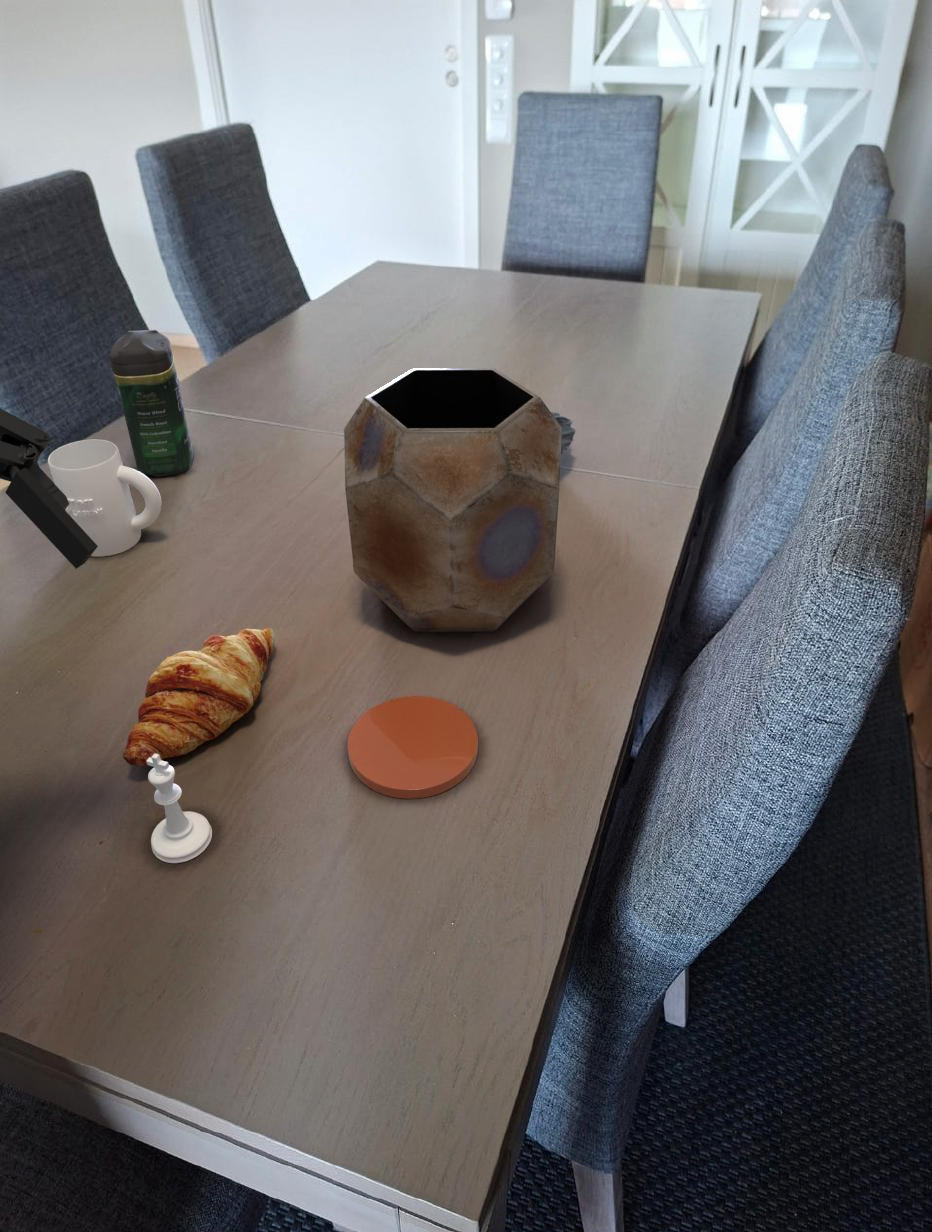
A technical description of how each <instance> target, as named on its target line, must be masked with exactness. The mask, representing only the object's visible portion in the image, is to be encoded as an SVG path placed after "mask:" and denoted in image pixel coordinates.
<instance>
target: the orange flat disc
mask: <svg viewBox="0 0 932 1232" xmlns="http://www.w3.org/2000/svg"><path fill="white" fill-rule="evenodd" d="M478 751H479V738H478V731H477V729H476V726H475V724H474V722H473V720H472V719H471V718H470V716H469V715H468V714H466V712H464V711H463V710H462V709H461V708H460V707H458V706H457V705H454V704H453V703H451V702H448V701H446V700H443V699H440V698H437V697H432V696H425V695H410V696H408V695H407V696H401V697H396V698H392V699H389V700H386V701H383V702H381V703H379V704H377V705H375V706H373V707H371V708H370V709H369V710H367V711H366V712H364V713H363V714H362V715H361V716H360V717H359V718H358V719H357V721H356V722H355V723H354V724H353V726H352V728H351V731H350V732H349V735H348V740H347V755H348V761H349V765H350V768H351V770H352V771H353V773H354V775H355V776H356V778H357V779H358V780H359V781H360V782H361V783H362V784H363V785H364V786H366V787H367V788H369V789H370V790H372V791H374V792H376V793H378V794H381V795H383V796H386V797H391V798H397V799H405V800H412V799H414V800H415V799H423V798H428V797H429V798H430V797H433V796H437V795H439V794H442V793H444V792H446V791H448V790H450V789H452V788H454V787H455V786H457V785H458V784H459V783H461V782H462V781H463V780H464V779H465V778H466V777H467V776H469V774H470V772H471V771H472V769H473V768H474V766H475V765H476V764H475V763H476V761H477V757H478V754H479V753H478Z"/></svg>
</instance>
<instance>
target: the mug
mask: <svg viewBox="0 0 932 1232" xmlns="http://www.w3.org/2000/svg"><path fill="white" fill-rule="evenodd" d="M47 464H48V465H47V466H48V468H49V470H50V471H49V472H50V474H51V476H52V481H53V483H54V484H55V485H56V486H57V487H58V488H59V490H61V491H62V492H63V493H64V495H65V496H66V497H67V499H68V502H69V505H68V507H67V508H66V510H65V511H66V512H67V513H68V514H69V515H70V516H71V517H72V518H73V519H74V521H75V522H76V523H77V524H78V525H79V526H80V527H81V528H82V529H83V530H84V531H85V533H86V534H87V535H88V536H89V537H90V538H91V539H92V540H93V541H94V542H95V543H96V545H97V546H98V547H97V548H96V549H95V551H94V552H93V553H92V555H91V556H90V557H95V558H96V557H97V558H99V557H100V558H101V557H110V556H114V555H118V554H121V553H124V552H126V551H128V550H130V549H132V548H133V547H134V546H136V544H138V543H139V542H140V539H141V537H142V530H143V529H146V528H148V527H150V526H151V525H153V524H154V523H155V522H156V521H157V520H158V518H159V516H160V514H161V511H162V496H161V494H160V491H159V489H158V487H157V486H156V484H155V483H154V482H153V481H152V480H151V478H149V477H148V475H146V474H142V473H141V472H139V471H138V469H135V468H133V467H130V466H127V465H124V464H123V460H122V456H121V453H120V450H119V448H118V446H117V445H116V444H115V443H113V442H112V441H109V440H106V439H98V438H96V439H95V438H94V439H85V440H84V439H82V440H77V441H73V442H70V443H67V444H64V445H62V446H60V447H58V448H56V449H54V450H53V451H52V452H51V453H50V454H49V455H48V458H47ZM129 485H130V486H132V487H134V488H135V489H136V490H138V491H139V493H140V494H141V495H142V497H143V499H144V503H145V505H144V506H145V507H144V509H143V510H142V512H140V513H139V514H137V512H136V508H135V504H134V499H133V497H132V493H131V489H130V486H129Z"/></svg>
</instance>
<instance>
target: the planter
mask: <svg viewBox="0 0 932 1232" xmlns="http://www.w3.org/2000/svg"><path fill="white" fill-rule="evenodd" d="M551 412H552V411H551V410H550V408H549V407H548V406H547V405H546V403H545V402H544V401H543V399H542V398H541V397H540V396H539V395H538V394H535V392H533V391H531V390H529V389H528V388H527V387H525V386H523V385H521V384H520V383H519V382H517V381H516V380H514V379H513V378H510V377H509V376H508V375H506V374H504V373H503V372H501V371H500V370H498V369H497V368H493V367H491V368H490V367H489V368H488V367H487V368H480V367H479V368H478V367H477V368H476V367H475V368H471V367H470V368H467V367H466V368H412V369H410V370H408V371H407V372H404V374H402V375H400V376H398V377H397V378H395V379H393V380H392V381H391V382H389V383H387V384H385V385H384V386H382V387H380V388H379V389H377V390H376V391H374V392H372V393H371V394H368V395H367V396H366V397H363V399H362V401H361V402H360V404H359V406H358V407H357V409H356V410H355V411H354V413H353V414H352V416H351V417H350V419H349V421H348V422H347V423H346V425H345V427H344V429H343V437H344V441H343V442H344V489H345V500H346V508H347V518H348V528H349V529H348V530H349V537H350V547H351V556H352V566H353V573H354V574H355V575H356V576H357V577H358V579H360V580H361V581H362V582H363V583H364V584H365V585H366V586H367V587H368V588H369V589H370V590H371V591H372V592H373V593H374V594H375V595H376V596H377V597H378V598H379V599H380V600H381V601H382V602H383V603H384V604H385V605H386V606H387V607H388V608H389V609H390V610H391V611H392V612H393V613H394V614H395V615H397V616H398V618H399V619H400V620H401V621H403V622H404V623H405V625H406V626H408V627H409V628H410V629H411V630H412V632H418V633H419V632H421V633H422V632H426V633H427V632H428V633H429V632H430V633H431V632H435V633H438V632H440V633H441V632H443V633H444V632H445V633H447V632H449V633H451V632H453V633H454V632H456V633H458V632H461V633H462V632H463V633H464V632H467V633H468V632H469V633H470V632H472V633H473V632H475V633H476V632H479V633H481V632H482V633H483V632H492V633H493V632H496V631H497V630H499V628H500V627H501V626H502V625H503V624H504V623H505V621H506V620H507V619H508V618H509V617H510V616H511V615H512V614H514V612H515V611H517V610H518V608H519V607H520V606H521V605H523V604H524V602H525V601H527V599H528V598H530V596H531V595H533V594H534V593H535V592H536V591H537V590H538V589H539V588H540V586H542V585H543V584H544V583H545V582H546V581H547V580H548V579H549V578H550V577H551V576H552V575H553V574H554V572H555V564H556V563H555V562H556V548H557V532H558V517H559V501H560V484H561V458H562V457H561V456H562V454H561V436H562V427H561V426H560V424H559V423H558V422H557V420H556V419H555V417H554V416H553V415H552V413H551Z"/></svg>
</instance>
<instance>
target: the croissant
mask: <svg viewBox="0 0 932 1232" xmlns="http://www.w3.org/2000/svg"><path fill="white" fill-rule="evenodd" d="M275 642H276V635H275V632H274V630H273V628H271V627H266V628H264V629H257V628H244V629H240V630H239V632H238V633H237V634H232V635H227V636H225V635H217V634H212V635H210V636H208V637H207V638H206V639H204V642H203V646H202V648H201V650H196V651H195V650H183V651H180V652H177V653H175V654H173V655H171V656H166V657H165V658H164V660H163V661H162V662H160V664H159V666H158V667H157V668H156V669H155V670H154V672H152V674H151V675H150V677H149V679H148V680H147V683H146V687H145V688H146V689H145V692H144V699H143V701H142V702H141V704H140V705H139V707H138V709H137V715H138V716H137V718H138V722H137V723H136V724H134V726H133V727H132V728H131V730H130V731H129V733H128V736H127V743H126V747H125V748H124V749H125V750H124V752H123V754H122V758H123V760H124V761H125V762H127V764H128V765H130V766H136V767H139V766H140V767H143V766H148V765H147V762H146V761H147V760H148V758H149V757H152V756H153V755H154V753H155V754H159V755H160V758H161V760H162V761H163V760H164V759H167V758H174V757H179V756H182V755H187V754H188V753H189V752H193V751H194V750H196V749H197V747H199V746H202V745H203V744H204V743H205V742H207V741H212V740H214V739H215V738H218V737H219V736H220V735H221V734H223V733H224V732H225V731H227V729H228V728H230V727H231V725H232V724H233V723H235V722H236V721H238V720H239V719H241V718H242V717H243V716H244V714H247V713H248V712H249V711H250V710H251V708H252V707H254V703H255V702H256V701H257V699H258V697H259V695H260V692H261V689H262V684H261V681H263V678H264V674H265V673H266V671H267V668H268V661H269V659H270V657H271V655H272V653H273V649H274V645H275Z"/></svg>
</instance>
